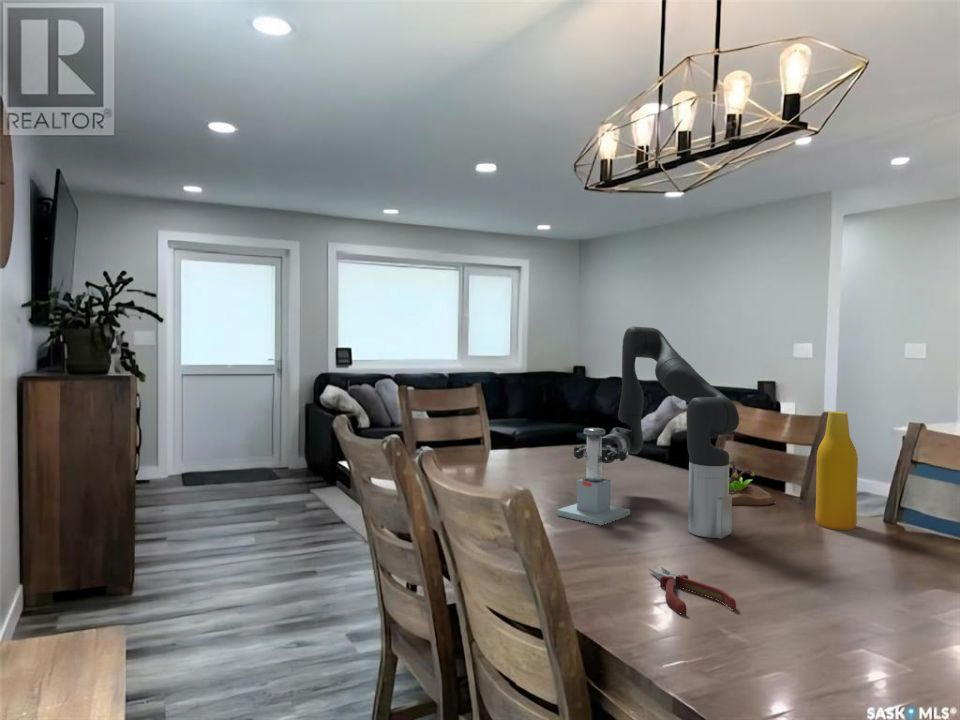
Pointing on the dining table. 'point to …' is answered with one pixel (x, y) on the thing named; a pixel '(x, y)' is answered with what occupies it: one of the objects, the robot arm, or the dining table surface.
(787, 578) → the dining table surface
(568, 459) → the dining table surface
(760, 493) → the plant
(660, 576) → the pliers
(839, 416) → the beer bottle
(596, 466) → the column
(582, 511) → the stand base
